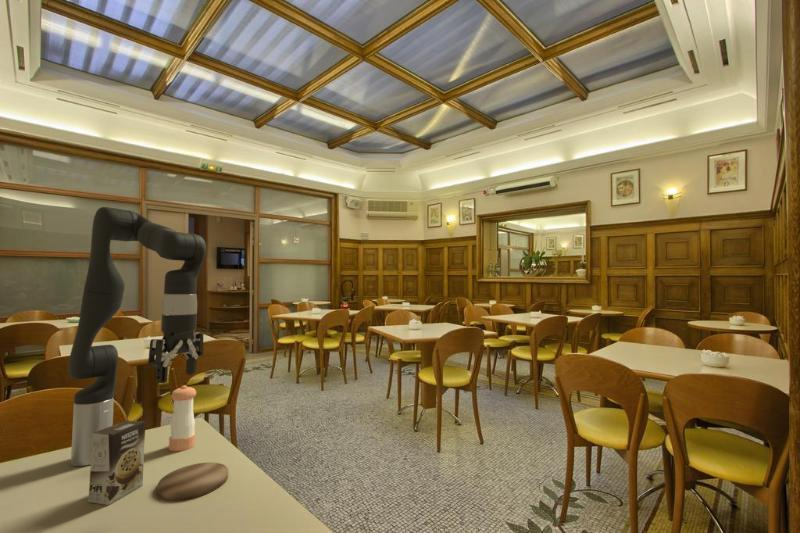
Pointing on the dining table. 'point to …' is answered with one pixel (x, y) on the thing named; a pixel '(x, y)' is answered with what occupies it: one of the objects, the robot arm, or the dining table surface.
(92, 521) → the dining table surface
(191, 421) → the pepper shaker
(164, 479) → the disc
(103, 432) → the coffee box
